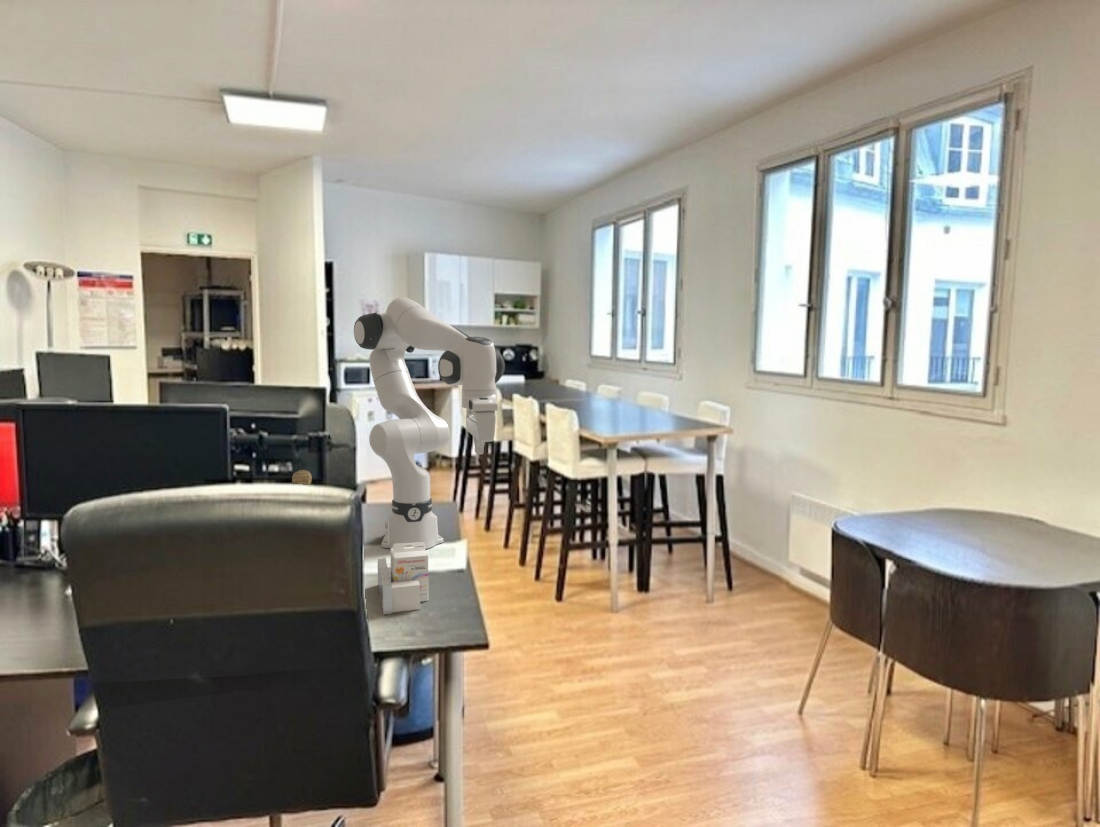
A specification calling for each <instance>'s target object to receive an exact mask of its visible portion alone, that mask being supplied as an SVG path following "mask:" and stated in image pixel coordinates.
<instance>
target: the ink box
mask: <svg viewBox="0 0 1100 827" xmlns="http://www.w3.org/2000/svg"><path fill="white" fill-rule="evenodd" d="M407 545H412V546H413V547H405V546H407ZM389 549H390V563H391V583H392V582H402V581H412V580H418V581H419V584H420V603H421V602H428V601H429V600H430V599H429V593H430V591H429V590H430V589H429V588H430V587H429V584H430V583H429V582H430V581H429V555H428V551H427V549H425V543H424V542H414V543H397V544H394V545H393V548H389Z"/></svg>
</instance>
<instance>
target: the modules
mask: <svg viewBox="0 0 1100 827" xmlns="http://www.w3.org/2000/svg"><path fill="white" fill-rule="evenodd" d="M386 563H387V567H388V571H389V576H390V580H391V562H386ZM391 584H392V613H399V612H408V611H417V610H421V602H420V584H419V581H418V580H412V581H402V582H392V583H391Z"/></svg>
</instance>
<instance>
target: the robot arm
mask: <svg viewBox="0 0 1100 827" xmlns="http://www.w3.org/2000/svg"><path fill="white" fill-rule="evenodd" d="M353 336H354V339H355V342H356V343H357V344H358V346H359V347H360V348H362V349H364V350H369V351H370V350H371V351H370V354H369V365H370V367H369V368H370V372H371V376H372V381H373V385H374V388H375V390H376V391H375V392H376V393H377V396H378V400H379V402H380V405H381V407H382V408H383V409H384V410H385V411H386V412H389V413H391V414H393V415H395V416H396V417H397V418H398V419H388V420H385V421H382V422H380V423H376V424H375V425H373V427H372V428H371V430H370V433H369V436H368V439H369V446H370V447H371V450H372V451H373V453H375V455H376V456H378V457H379V458H381V459H382V460H383V461H384V462H385V463H386V465H387V467H388V469H389V471H390V474H391V480H392V493H393V498H392V501H391V511H392V513H391V516H389V517H388V519H387V520H386V521H385V524H384V525H385V529H387V530H386V532H385V534H384V536H383V539H382V542H381V545H380V547H381V548H386V549H391V548H393V545H394V544H397V543H414V542H424V543H425V549H426V550H427V549H431V548H433V547H435V546H436V545H438V544H441V543H444V540H445V539H444V538H443V537H442V536H441V535H440V534H439V531H438V528H439V527H438V517H437V515H436V514H435V513H434V512H432V510H433V500H432V498H431V476H430V473H429V472H428V471H427V469H426V468H424V467H422V466H420V465H417V463H416V460H415V455H417V454H424V453H426V454H427V453H432V452H435V451H438V450H439V449H442V448H444V447H446V446H447V444H448V443H449V440H450V437H451V436H450V435H451V431H450V428H449V425H448V423H447V422H446V420H445V419H444V418H442V417H440V416H438V415H436V414H435V413H433V412H432V410H430V409H429V408H428V407H427V406H426V405H425V404H424V403H423V402H422V400H421V398H420V397H419V395H418V393H417V390H416V389H415V386H414V383H413V381H412V377H411V375H410V372H409V368H408V366H407V365H406V364H407V363H406V362H405V361H406V360H405V353H406V352H407V353H408V354H409V353H413V352H414V351H415V349H417V350H422V351H440V352H441V351H442V352H443V353H442V354H441V355H440V357H439V360H438V365H437V366H438V368H437V369H438V374H439V377H440V378H441V380H442V381H443V382H444V383H445V384H446V385H450V386H462V388H461V407H462V408H463V409H466V412H465V429H466V431H467V432H468V433H469V434H470V435H471V436H473V439H472V440H473V444H474V453H476V455H483V454H484V453H485V451H484V450H485V449H484V448H485V443H489V442H493V441H494V438H495V433H496V421H497V420H496V419H497V418H496V417H497V414H496V412H497V411H498V410H499V403H498V401H497V399H498V398H497V385H496V384H497V383H498V382H499V381H500V380H501V378H502V377H503V375H504V373H505V370H506V368H505V367H506V363H505V360H504V357H503V355H502V354H501V353H500V351H499V350H498V349H497V348H495V344H494V341H492V340H491V339H490V338H488V337H481V336H469V335H468V334H467V333H465V332H463V331H462V330H460V329H458V328H456V327H455V326H453V325H451V324H449V323H448V322H445V321H444V320H442V319H441V318H439V317H437V316H436V315H435V314H433V313H431V312H430V311H429V310H428V309H426V308H425V307H424V306H423V305H421V304H420V303H419V302H416V301H415V300H413V299H410V298H409V297H405V296H403V297H397V298H395V299H393V300H392V301H391V302H390V303H389V304H388V306H387V308H386V311H385V312H378V313H377V312H372V313H371V312H370V313H367V314H364V315H361V316H359V317H358V318H357V319H356V320H355V322H354V324H353ZM405 547H413V546H412V545H407V546H405Z"/></svg>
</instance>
